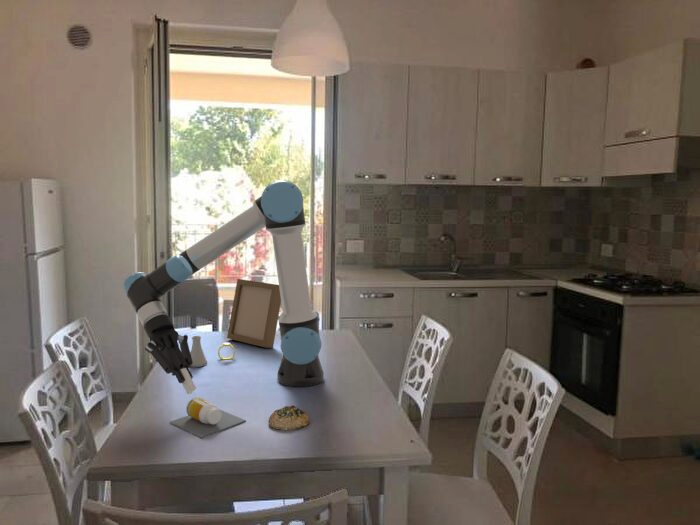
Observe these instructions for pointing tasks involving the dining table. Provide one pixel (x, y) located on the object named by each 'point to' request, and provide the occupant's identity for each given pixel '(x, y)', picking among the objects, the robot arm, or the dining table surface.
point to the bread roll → (288, 418)
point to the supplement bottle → (203, 411)
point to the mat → (207, 429)
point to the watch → (226, 345)
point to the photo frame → (255, 313)
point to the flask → (197, 353)
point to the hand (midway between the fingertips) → (191, 391)
